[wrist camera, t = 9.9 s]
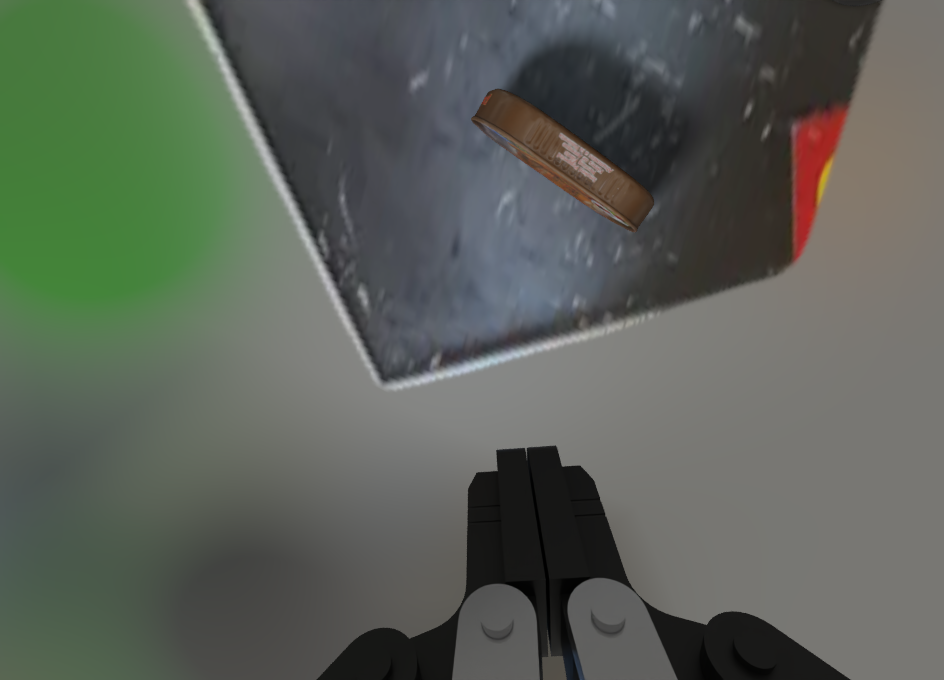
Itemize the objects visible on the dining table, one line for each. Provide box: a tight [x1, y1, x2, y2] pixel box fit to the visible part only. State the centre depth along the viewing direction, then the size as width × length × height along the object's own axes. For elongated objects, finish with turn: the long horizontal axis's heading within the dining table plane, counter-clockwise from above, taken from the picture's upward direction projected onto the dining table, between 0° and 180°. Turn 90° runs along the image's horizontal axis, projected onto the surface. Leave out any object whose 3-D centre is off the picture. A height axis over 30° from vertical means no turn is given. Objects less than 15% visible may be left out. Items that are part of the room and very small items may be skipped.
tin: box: [471, 89, 654, 232], centre depth 33 cm, size 15×3×8 cm, turn 58°
